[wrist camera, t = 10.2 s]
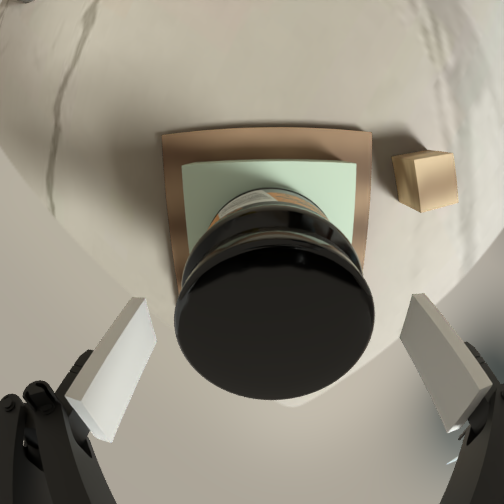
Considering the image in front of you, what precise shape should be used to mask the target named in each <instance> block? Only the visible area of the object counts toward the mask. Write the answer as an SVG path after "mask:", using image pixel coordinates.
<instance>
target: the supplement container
mask: <svg viewBox="0 0 504 504" xmlns="http://www.w3.org/2000/svg"><path fill="white" fill-rule="evenodd" d="M374 320H375V309H374V302H373V297H372V294H371V291H370V288H369V286H368V284H367V282H366V280H365V279H364V277H363V271H362V267H361V263H360V260H359V258H358V255H357V253H356V251H355V249H354V247H353V246H352V244H351V243H350V241H349V240H348V238H347V237H346V236H345V235H344V234H343V233H342V232H341V231H340V230H339V229H338V228H337V227H336V226H335V225H334V224H333V223H331V222H330V221H329V220H328V218H327V217H326V215H325V214H324V212H323V211H322V210H321V209H320V208H319V207H318V206H317V205H316V204H315V203H314V202H313V201H312V200H310V199H309V198H307V197H306V196H304V195H302V194H300V193H298V192H296V191H293V190H290V189H286V188H281V187H260V188H255V189H251V190H248V191H246V192H243V193H241V194H239V195H237V196H235V197H234V198H232V199H231V200H229V201H228V202H227V203H226V204H225V205H224V206H223V207H222V208H221V209H220V210H219V211H218V213H217V214H216V215H215V217H214V218H213V220H212V222H211V224H210V226H209V228H208V230H207V231H206V232H205V233H204V234H203V235H202V236H201V238H200V239H199V240H198V242H197V243H196V244H195V246H194V247H193V249H192V251H191V253H190V254H189V256H188V259H187V261H186V264H185V267H184V271H183V275H182V283H181V291H180V294H179V296H178V299H177V303H176V307H175V314H174V327H175V334H176V337H177V341H178V344H179V346H180V349H181V351H182V353H183V354H184V356H185V358H186V359H187V360H188V362H189V363H190V364H191V366H192V367H193V368H194V369H195V370H196V371H197V372H198V373H199V374H200V375H201V376H202V377H204V378H205V379H206V380H208V381H209V382H211V383H212V384H214V385H216V386H217V387H219V388H221V389H223V390H226V391H228V392H230V393H233V394H236V395H239V396H244V397H248V398H253V399H261V400H283V399H290V398H296V397H300V396H304V395H308V394H310V393H313V392H316V391H318V390H320V389H323V388H325V387H327V386H328V385H330V384H332V383H333V382H335V381H337V380H338V379H339V378H341V377H342V376H343V375H345V374H346V373H347V372H348V371H349V370H350V369H351V368H352V367H353V366H354V365H355V364H356V363H357V361H358V360H359V359H360V357H361V356H362V354H363V353H364V351H365V349H366V348H367V346H368V343H369V341H370V339H371V335H372V332H373V327H374Z"/></svg>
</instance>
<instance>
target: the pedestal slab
mask: <svg viewBox="0 0 504 504" xmlns="http://www.w3.org/2000/svg"><path fill="white" fill-rule="evenodd" d="M182 180H183V193H184V205H185V216H186V226H187V236H188V245H189V254H190V253H191V251H192V249H193V247H194V246H195V244H196V243H197V242H198V240H199V239H200V238H201V236H202V235H203V234H204V233H205V232H206V231H207V230H208V228H209V226H210V224H211V222H212V220H213V218H214V217H215V215H216V214H217V213H218V211H219V210H220V209H221V208H222V207H223V206H224V205H225V204H226V203H227V202H228V201H229V200H231V199H232V198H234V197H235V196H237V195H239V194H241V193H243V192H246V191H248V190H251V189H255V188H260V187H281V188H286V189H290V190H293V191H296V192H298V193H300V194H302V195H304V196H306V197H307V198H309V199H310V200H312V201H313V202H314V203H315V204H316V205H317V206H318V207H319V208H320V209H321V210H322V211H323V212H324V214H325V215H326V217H327V218H328V220H329V221H330V222H331V223H333V224H334V225H335V226H336V227H337V228H338V229H339V230H340V231H341V232H342V233H343V234H344V235H345V236H346V237H347V238H348V240H349V241H350V243H351V244H352V235H353V223H354V209H355V191H356V163H351V162H346V161H338V160H312V159H252V160H225V161H208V162H194V163H190V164H186V165H182Z"/></svg>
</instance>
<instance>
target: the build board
mask: <svg viewBox="0 0 504 504" xmlns="http://www.w3.org/2000/svg"><path fill="white" fill-rule="evenodd" d="M162 150H163V166H164V179H165V191H166V201H167V211H168V220H169V229H170V237H171V245H172V252H173V260H174V267H175V273H176V280H177V286H178V292H179V294H180V291H181V283H182V275H183V271H184V267H185V264H186V261H187V259H188V256H189V245H188V236H187V226H186V216H185V205H184V193H183V180H182V165H186V164H190V163H194V162H208V161H225V160H252V159H312V160H338V161H346V162H351V163H356V191H355V209H354V223H353V235H352V246H353V247H354V249H355V251H356V253H357V255H358V258H359V260H360V263H361V267H362V271H363V264H364V257H365V248H366V239H367V230H368V219H369V206H370V191H371V168H372V132H363V131H352V130H340V129H324V128H299V127H256V128H230V129H215V130H202V131H191V132H182V133H173V134H165V135H162Z"/></svg>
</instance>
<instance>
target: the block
mask: <svg viewBox="0 0 504 504" xmlns="http://www.w3.org/2000/svg"><path fill="white" fill-rule="evenodd" d="M391 158H392V163H393V168H394V174H395V180H396V186H397V192H398V199H399V202H400V203H403V204H405V205H407V206H409V207H411V208H413V209H415V210H417V211H418V212H420V213H422V212H426V211H430V210H433V209H437V208H441V207H444V206H448V205H452V204H455V203H458V190H457V180H456V171H455V163H454V156H453V153H448V152H440V151H432V150H425V151H419V152H413V153H408V154H402V155H397V156H392V157H391Z"/></svg>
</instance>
